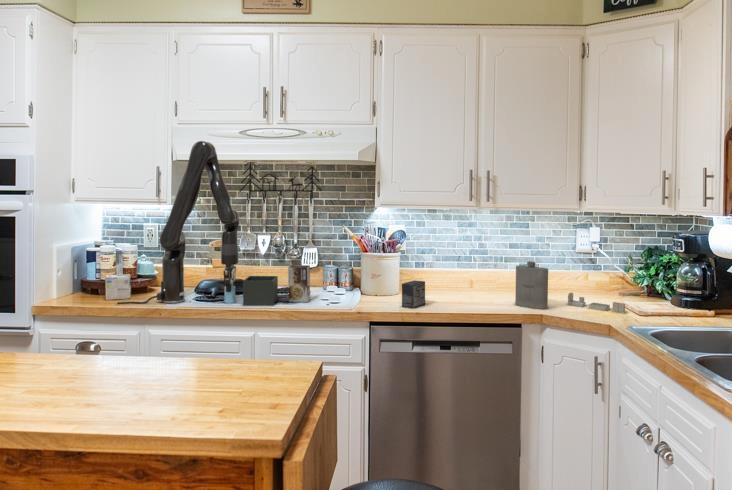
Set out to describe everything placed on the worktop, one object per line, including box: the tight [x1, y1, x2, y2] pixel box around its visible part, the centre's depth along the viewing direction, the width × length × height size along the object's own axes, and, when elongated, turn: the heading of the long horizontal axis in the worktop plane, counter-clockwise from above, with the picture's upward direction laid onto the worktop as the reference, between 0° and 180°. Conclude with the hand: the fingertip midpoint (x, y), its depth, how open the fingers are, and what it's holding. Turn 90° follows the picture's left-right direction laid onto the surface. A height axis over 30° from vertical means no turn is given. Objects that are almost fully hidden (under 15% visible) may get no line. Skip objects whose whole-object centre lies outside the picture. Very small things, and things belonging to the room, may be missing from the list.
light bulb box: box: [104, 273, 132, 301], centre depth 286 cm, size 11×7×11 cm, turn 108°
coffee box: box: [287, 264, 311, 303], centre depth 282 cm, size 9×6×16 cm
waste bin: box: [242, 275, 279, 307], centre depth 278 cm, size 13×13×11 cm
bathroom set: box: [567, 292, 626, 314], centre depth 269 cm, size 25×5×5 cm, turn 49°
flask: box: [514, 260, 549, 310], centre depth 272 cm, size 15×6×20 cm, turn 48°
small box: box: [401, 280, 426, 309], centre depth 273 cm, size 11×6×10 cm, turn 145°
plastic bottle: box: [224, 280, 236, 304], centre depth 278 cm, size 5×5×10 cm
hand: (229, 290), depth 278 cm, fingers closed on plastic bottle, 4 cm apart
